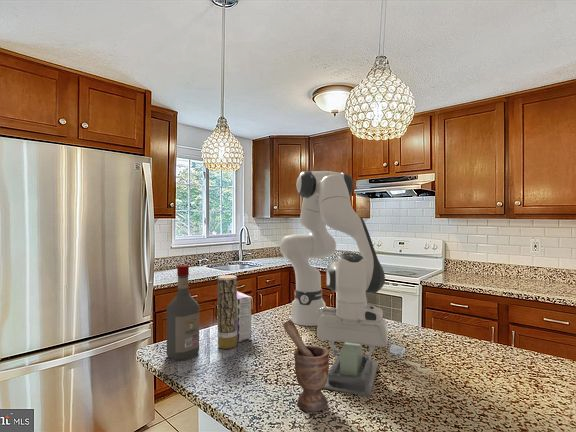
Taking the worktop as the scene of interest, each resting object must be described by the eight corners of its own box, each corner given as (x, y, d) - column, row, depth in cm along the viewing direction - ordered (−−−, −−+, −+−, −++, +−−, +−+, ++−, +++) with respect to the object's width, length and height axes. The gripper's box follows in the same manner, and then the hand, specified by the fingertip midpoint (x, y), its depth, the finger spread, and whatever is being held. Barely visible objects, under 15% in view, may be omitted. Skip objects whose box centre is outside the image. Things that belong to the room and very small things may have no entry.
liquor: (202, 354, 115) (202, 265, 115) (178, 363, 108) (178, 268, 108) (186, 347, 121) (186, 263, 121) (163, 355, 114) (163, 266, 114)
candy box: (223, 332, 137) (223, 291, 138) (236, 329, 141) (236, 289, 141) (237, 342, 126) (237, 298, 126) (252, 339, 129) (252, 296, 129)
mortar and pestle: (280, 412, 80) (280, 327, 81) (284, 393, 89) (283, 317, 89) (329, 414, 79) (329, 329, 80) (328, 395, 88) (328, 318, 88)
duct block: (340, 380, 95) (339, 351, 95) (347, 364, 105) (347, 338, 105) (356, 382, 93) (356, 353, 93) (362, 366, 103) (361, 340, 103)
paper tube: (232, 350, 118) (232, 278, 118) (214, 349, 120) (214, 278, 120) (239, 343, 125) (239, 275, 125) (222, 342, 126) (222, 274, 127)
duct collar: (336, 359, 111) (336, 349, 111) (378, 365, 106) (377, 354, 106) (321, 388, 92) (321, 376, 92) (370, 396, 87) (370, 383, 87)
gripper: (314, 309, 100) (314, 356, 100) (386, 316, 93) (386, 366, 93) (319, 304, 106) (319, 348, 106) (388, 310, 99) (388, 357, 98)
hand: (351, 357), depth 99 cm, fingers open, 8 cm apart
